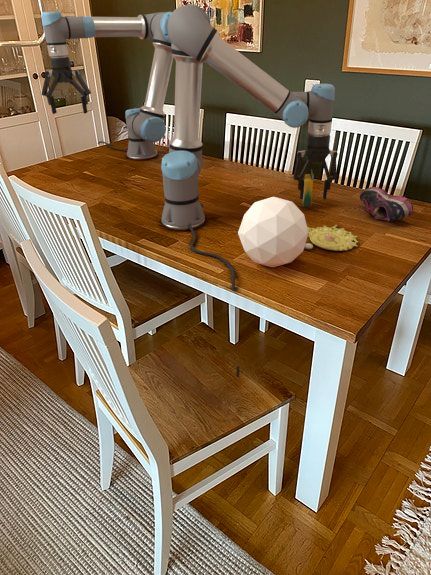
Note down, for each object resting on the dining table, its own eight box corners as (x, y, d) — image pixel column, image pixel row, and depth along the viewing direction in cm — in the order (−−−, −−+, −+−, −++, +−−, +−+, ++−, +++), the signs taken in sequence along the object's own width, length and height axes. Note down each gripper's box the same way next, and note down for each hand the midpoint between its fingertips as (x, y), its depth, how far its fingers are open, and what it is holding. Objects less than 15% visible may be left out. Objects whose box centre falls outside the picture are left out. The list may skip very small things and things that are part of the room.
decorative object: (343, 255, 128) (285, 234, 139) (342, 262, 130) (284, 241, 140) (372, 230, 142) (317, 213, 152) (371, 237, 143) (316, 219, 153)
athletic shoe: (369, 185, 163) (343, 194, 159) (416, 181, 144) (388, 190, 140) (374, 215, 166) (349, 224, 162) (420, 215, 146) (393, 225, 143)
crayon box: (301, 199, 167) (303, 169, 160) (309, 199, 166) (311, 169, 160) (302, 206, 160) (305, 175, 154) (311, 206, 160) (314, 175, 154)
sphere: (280, 289, 130) (288, 262, 111) (225, 253, 134) (224, 221, 116) (315, 241, 135) (328, 208, 116) (260, 208, 139) (265, 171, 121)
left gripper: (25, 58, 174) (38, 115, 186) (86, 57, 172) (96, 114, 184) (33, 56, 180) (45, 111, 192) (92, 55, 178) (101, 110, 190)
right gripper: (289, 137, 148) (285, 201, 160) (352, 136, 146) (343, 202, 158) (287, 131, 154) (284, 194, 166) (348, 131, 152) (339, 194, 165)
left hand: (70, 113), depth 188 cm, fingers open, 13 cm apart
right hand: (312, 198), depth 162 cm, fingers open, 8 cm apart
